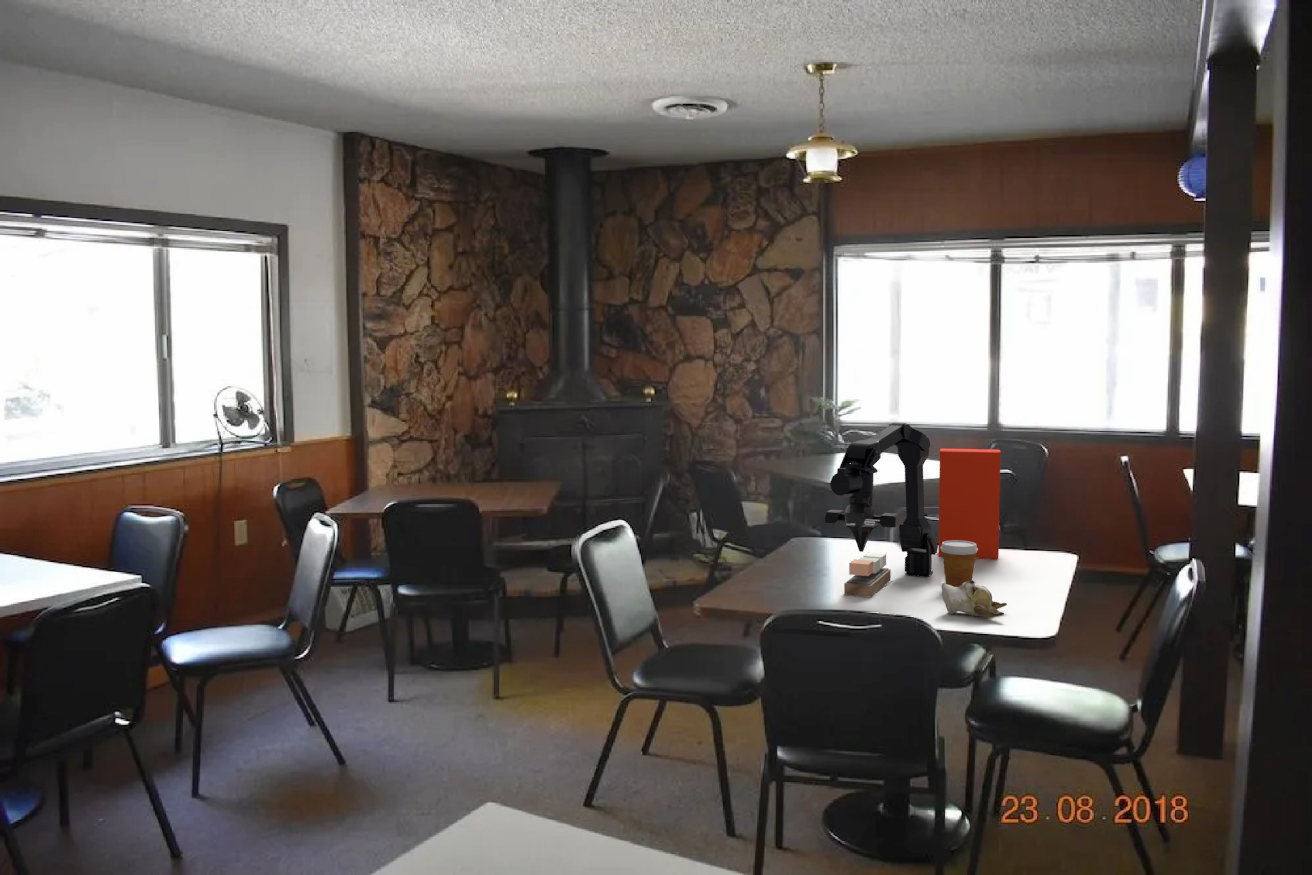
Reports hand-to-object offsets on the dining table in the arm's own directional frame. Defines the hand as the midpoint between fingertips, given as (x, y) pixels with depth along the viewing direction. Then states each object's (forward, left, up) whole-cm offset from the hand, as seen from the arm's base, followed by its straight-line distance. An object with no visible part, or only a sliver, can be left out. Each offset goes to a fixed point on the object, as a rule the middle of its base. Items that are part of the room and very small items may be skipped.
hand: (861, 551), depth 278 cm
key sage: (0, -7, -6) cm, 10 cm away
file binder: (-17, -60, -11) cm, 63 cm away
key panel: (0, -7, -11) cm, 13 cm away
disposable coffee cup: (-22, -15, -11) cm, 29 cm away
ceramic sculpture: (-30, +11, -11) cm, 34 cm away
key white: (0, -14, -6) cm, 15 cm away
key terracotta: (0, 0, -6) cm, 6 cm away
